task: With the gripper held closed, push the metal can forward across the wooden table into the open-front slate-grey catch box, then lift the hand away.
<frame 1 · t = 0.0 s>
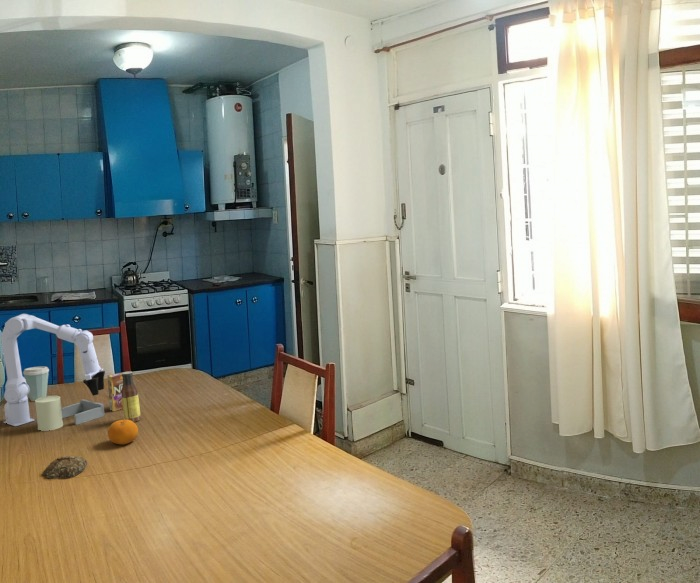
hand: (98, 392, 255), 11 cm above the table, tool pointing down, fingers open, 7 cm apart
rough brown rock: (65, 472, 202), on the table
disposable coffee cup: (39, 399, 285), on the table
sauce bottle: (132, 421, 250), on the table
catch box: (80, 417, 257), on the table
can: (50, 427, 246), on the table
fruit: (124, 442, 226), on the table
candy box: (121, 408, 267), on the table
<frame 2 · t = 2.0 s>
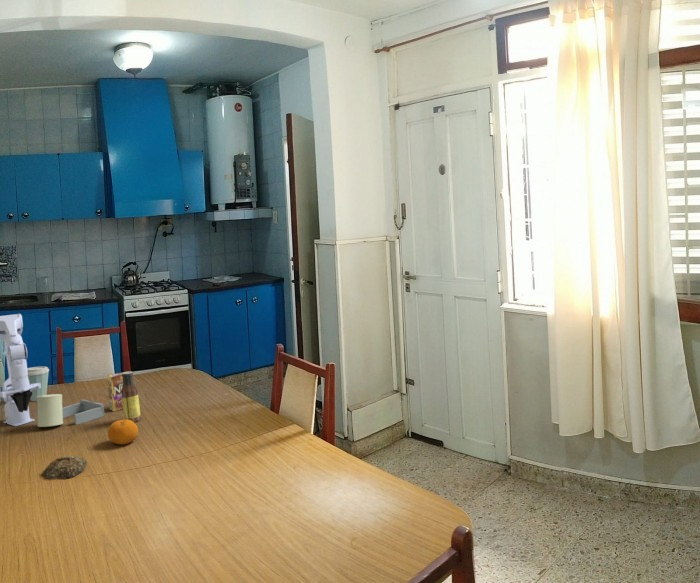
hand: (23, 411, 237), 9 cm above the table, tool pointing down, fingers closed
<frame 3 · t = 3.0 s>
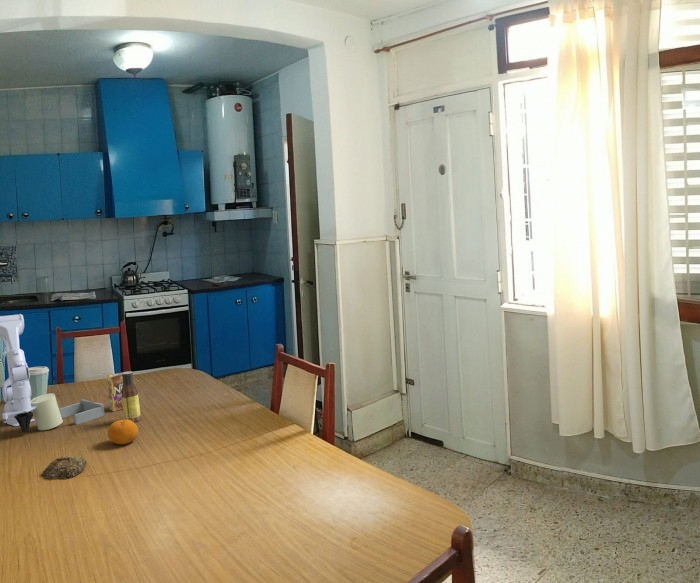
hand: (25, 431, 238), 1 cm above the table, tool pointing down, fingers closed
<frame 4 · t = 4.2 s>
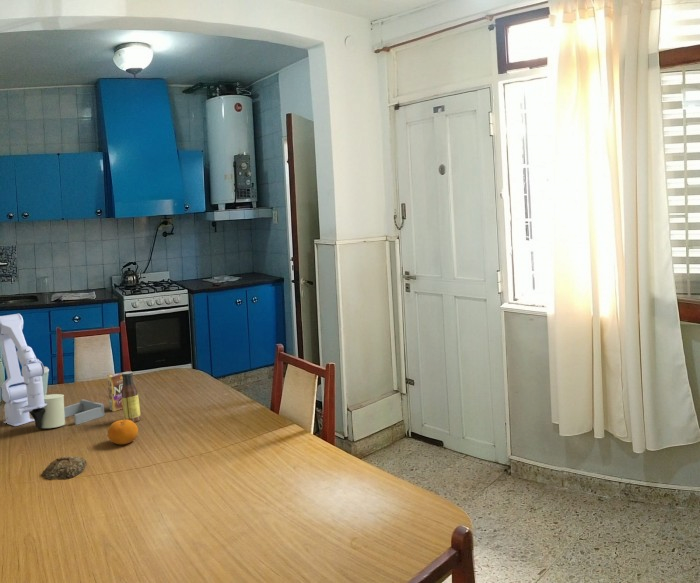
hand: (38, 427, 242), 1 cm above the table, tool pointing down, fingers closed
can: (52, 425, 247), on the table, touching gripper
everything else where it was.
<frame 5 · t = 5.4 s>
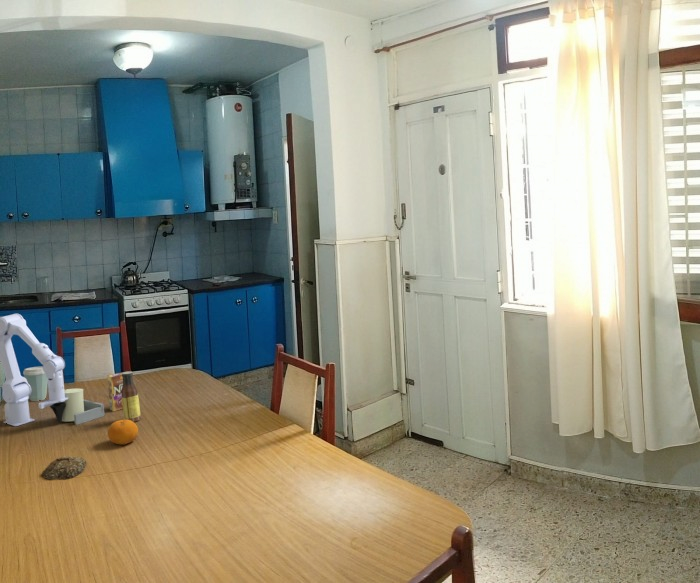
hand: (59, 421, 249), 1 cm above the table, tool pointing down, fingers closed
can: (72, 419, 254), on the table, touching gripper
everything else where it was.
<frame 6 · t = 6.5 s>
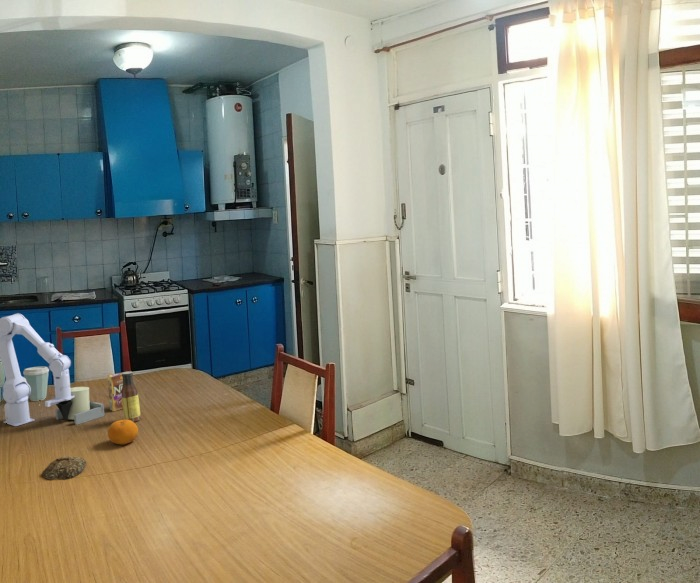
hand: (65, 419, 251), 1 cm above the table, tool pointing down, fingers closed
can: (78, 417, 257), on the table, touching gripper
everything else where it was.
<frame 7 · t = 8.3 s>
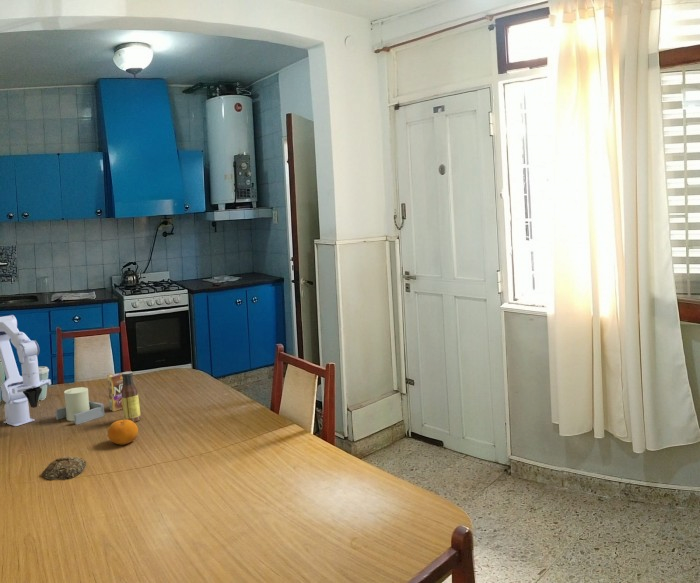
hand: (33, 406, 242), 9 cm above the table, tool pointing down, fingers closed
can: (78, 417, 257), on the table
everything else where it was.
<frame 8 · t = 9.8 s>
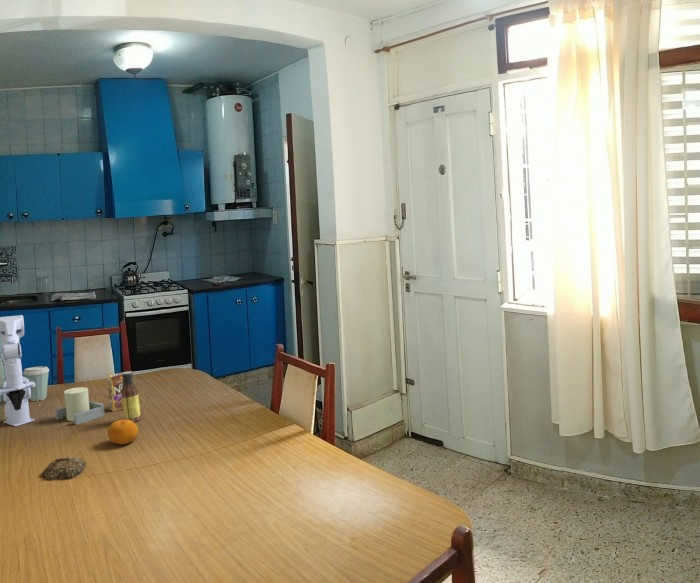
hand: (17, 409, 239), 9 cm above the table, tool pointing down, fingers closed
nothing on the table moved.
at the end: can inside the target area on the catch box (0.8 cm from its centre), point 0.0 cm above the catch box's base; can tilted 0° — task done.
